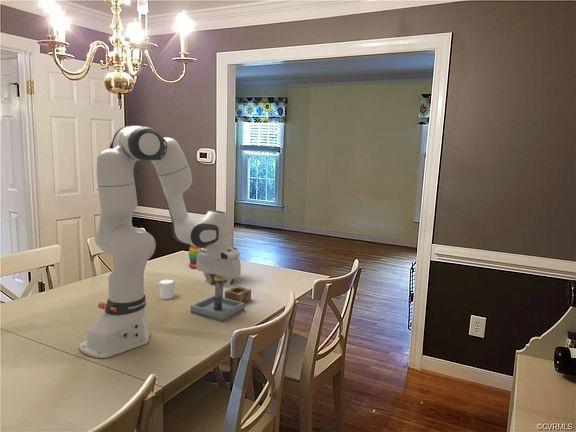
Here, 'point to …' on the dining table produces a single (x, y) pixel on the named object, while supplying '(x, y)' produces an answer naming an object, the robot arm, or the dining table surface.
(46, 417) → the dining table surface
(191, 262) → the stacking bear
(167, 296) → the white cylinder
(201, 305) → the tray
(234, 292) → the pin block
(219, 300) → the steel pin
